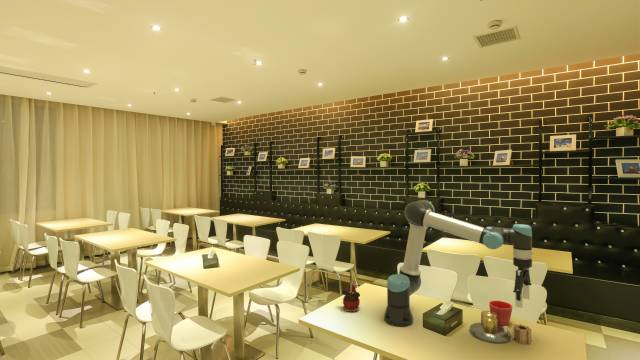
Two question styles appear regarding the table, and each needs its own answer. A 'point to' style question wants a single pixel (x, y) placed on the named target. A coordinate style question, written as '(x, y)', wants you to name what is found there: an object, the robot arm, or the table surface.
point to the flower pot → (501, 311)
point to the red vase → (351, 298)
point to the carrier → (490, 329)
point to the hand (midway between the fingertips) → (522, 302)
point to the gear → (522, 334)
